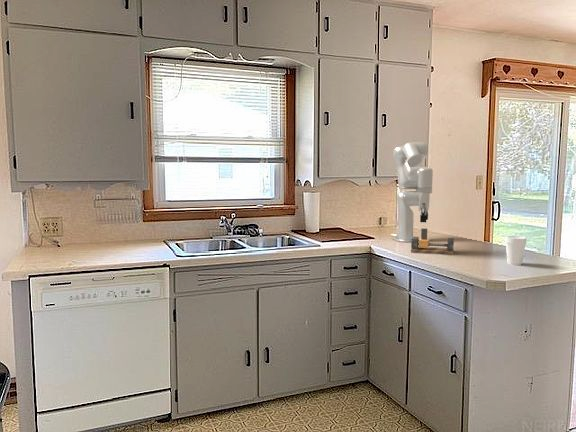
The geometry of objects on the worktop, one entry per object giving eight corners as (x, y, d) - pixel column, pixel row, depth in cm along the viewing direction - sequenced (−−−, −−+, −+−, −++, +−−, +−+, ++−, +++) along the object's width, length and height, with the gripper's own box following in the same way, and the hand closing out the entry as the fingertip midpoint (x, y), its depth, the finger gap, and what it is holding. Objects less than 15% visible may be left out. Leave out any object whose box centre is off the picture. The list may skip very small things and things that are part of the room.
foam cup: (500, 262, 236) (501, 236, 234) (518, 261, 236) (519, 235, 235) (510, 266, 226) (511, 239, 225) (529, 265, 227) (530, 238, 226)
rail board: (410, 252, 264) (411, 239, 263) (413, 248, 275) (413, 235, 274) (452, 254, 256) (453, 240, 255) (453, 250, 267) (453, 237, 266)
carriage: (418, 247, 264) (419, 229, 263) (420, 245, 271) (420, 227, 270) (428, 248, 262) (428, 229, 261) (429, 246, 269) (429, 228, 268)
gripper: (419, 188, 273) (418, 218, 275) (416, 191, 257) (415, 222, 259) (433, 189, 270) (432, 218, 272) (430, 191, 254) (429, 223, 256)
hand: (424, 220), depth 266 cm, fingers open, 9 cm apart
